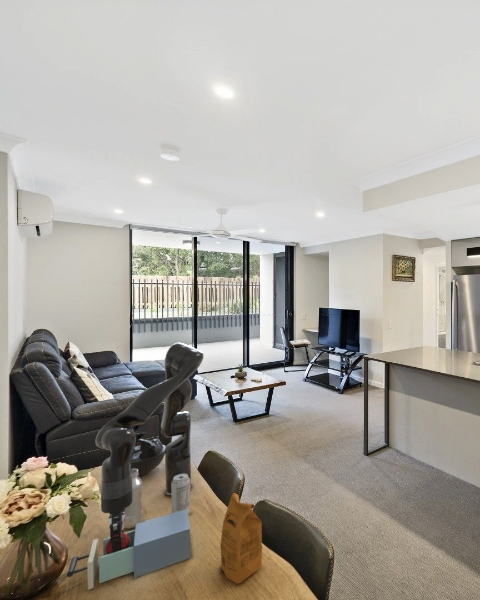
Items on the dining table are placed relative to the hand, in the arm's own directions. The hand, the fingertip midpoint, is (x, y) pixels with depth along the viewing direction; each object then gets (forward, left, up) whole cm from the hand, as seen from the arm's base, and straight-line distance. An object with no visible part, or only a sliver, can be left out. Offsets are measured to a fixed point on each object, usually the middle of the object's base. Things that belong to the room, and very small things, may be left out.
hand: (117, 545), depth 111 cm
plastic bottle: (-24, +2, -8) cm, 25 cm away
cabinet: (0, +11, -8) cm, 14 cm away
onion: (0, 0, -4) cm, 4 cm away
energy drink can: (-21, +17, -8) cm, 28 cm away
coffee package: (+20, +31, -8) cm, 38 cm away
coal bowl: (-68, +3, -8) cm, 68 cm away
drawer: (0, -2, -7) cm, 7 cm away
